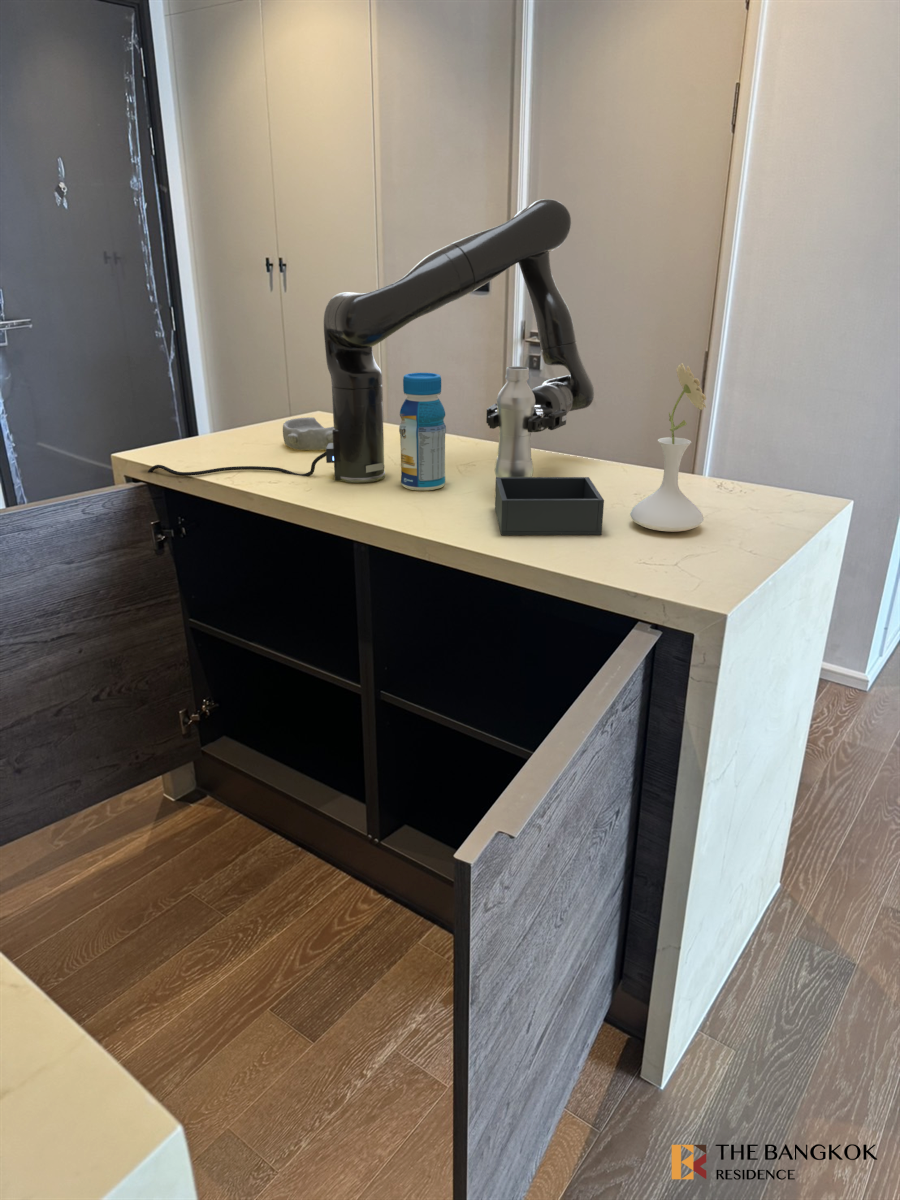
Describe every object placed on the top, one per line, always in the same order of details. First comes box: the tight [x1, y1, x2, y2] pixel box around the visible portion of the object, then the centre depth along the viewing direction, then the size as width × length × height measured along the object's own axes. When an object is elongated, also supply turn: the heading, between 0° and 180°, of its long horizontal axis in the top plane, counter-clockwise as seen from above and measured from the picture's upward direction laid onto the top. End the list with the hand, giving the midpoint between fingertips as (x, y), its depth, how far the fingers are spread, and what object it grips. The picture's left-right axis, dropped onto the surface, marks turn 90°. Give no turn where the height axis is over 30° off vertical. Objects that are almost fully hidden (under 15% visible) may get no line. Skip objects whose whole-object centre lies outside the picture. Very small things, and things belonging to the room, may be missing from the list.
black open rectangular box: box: [494, 476, 605, 536], centre depth 138 cm, size 16×14×6 cm
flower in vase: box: [629, 362, 707, 533], centre depth 133 cm, size 13×11×25 cm
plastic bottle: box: [494, 365, 535, 478], centre depth 147 cm, size 6×7×20 cm
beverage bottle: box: [398, 372, 447, 492], centre depth 155 cm, size 8×8×20 cm
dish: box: [282, 416, 334, 451], centre depth 188 cm, size 14×14×5 cm
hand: (510, 424), depth 145 cm, fingers closed on plastic bottle, 6 cm apart
